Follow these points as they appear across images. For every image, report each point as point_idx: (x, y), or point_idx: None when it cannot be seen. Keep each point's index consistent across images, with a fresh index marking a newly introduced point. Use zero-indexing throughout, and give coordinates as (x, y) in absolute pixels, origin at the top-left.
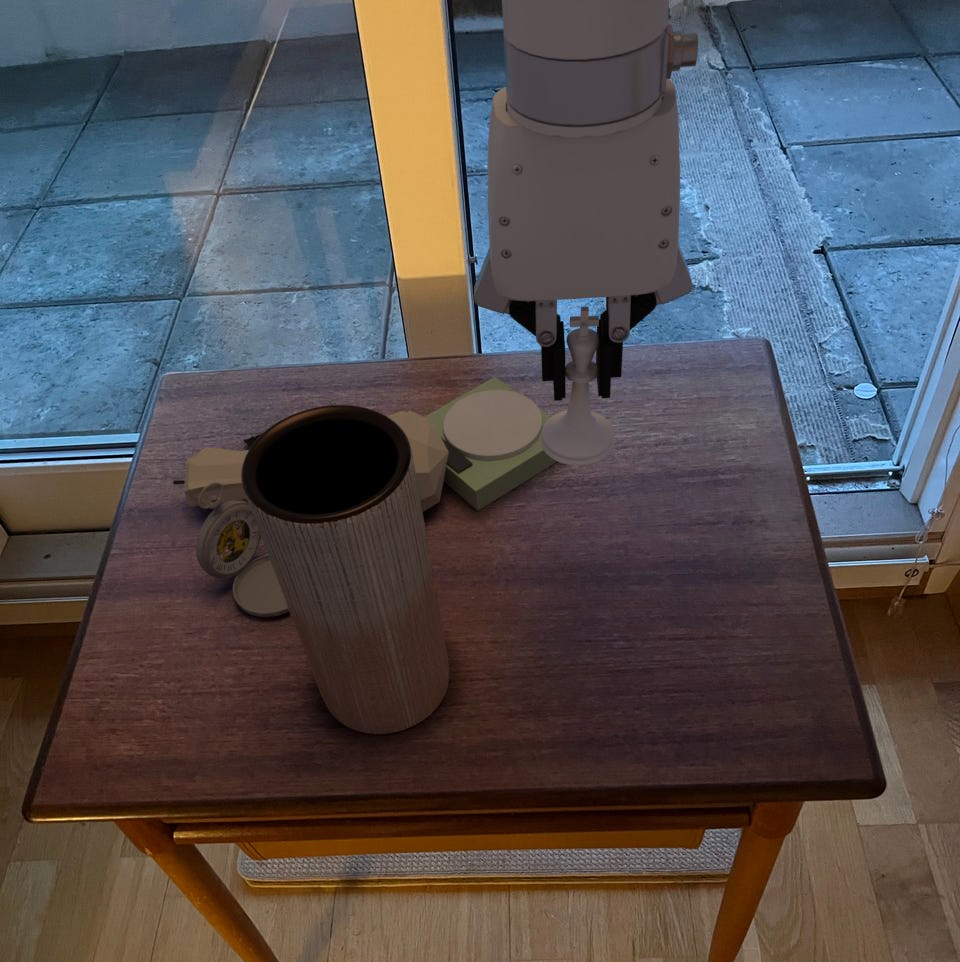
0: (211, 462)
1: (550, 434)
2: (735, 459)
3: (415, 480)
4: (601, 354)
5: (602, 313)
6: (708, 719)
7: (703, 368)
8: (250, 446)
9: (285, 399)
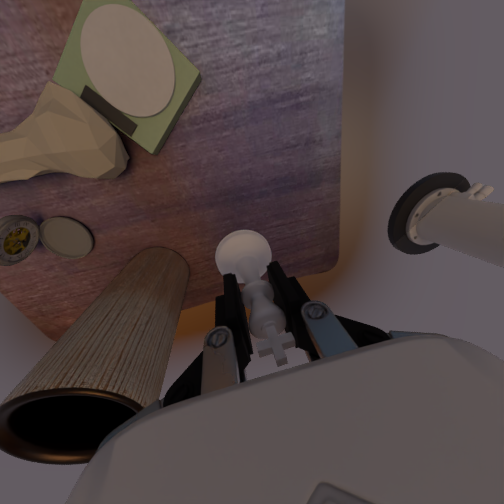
0: None
1: (225, 271)
2: (310, 77)
3: (153, 383)
4: None
5: (297, 326)
6: (289, 258)
7: None
8: None
9: None
